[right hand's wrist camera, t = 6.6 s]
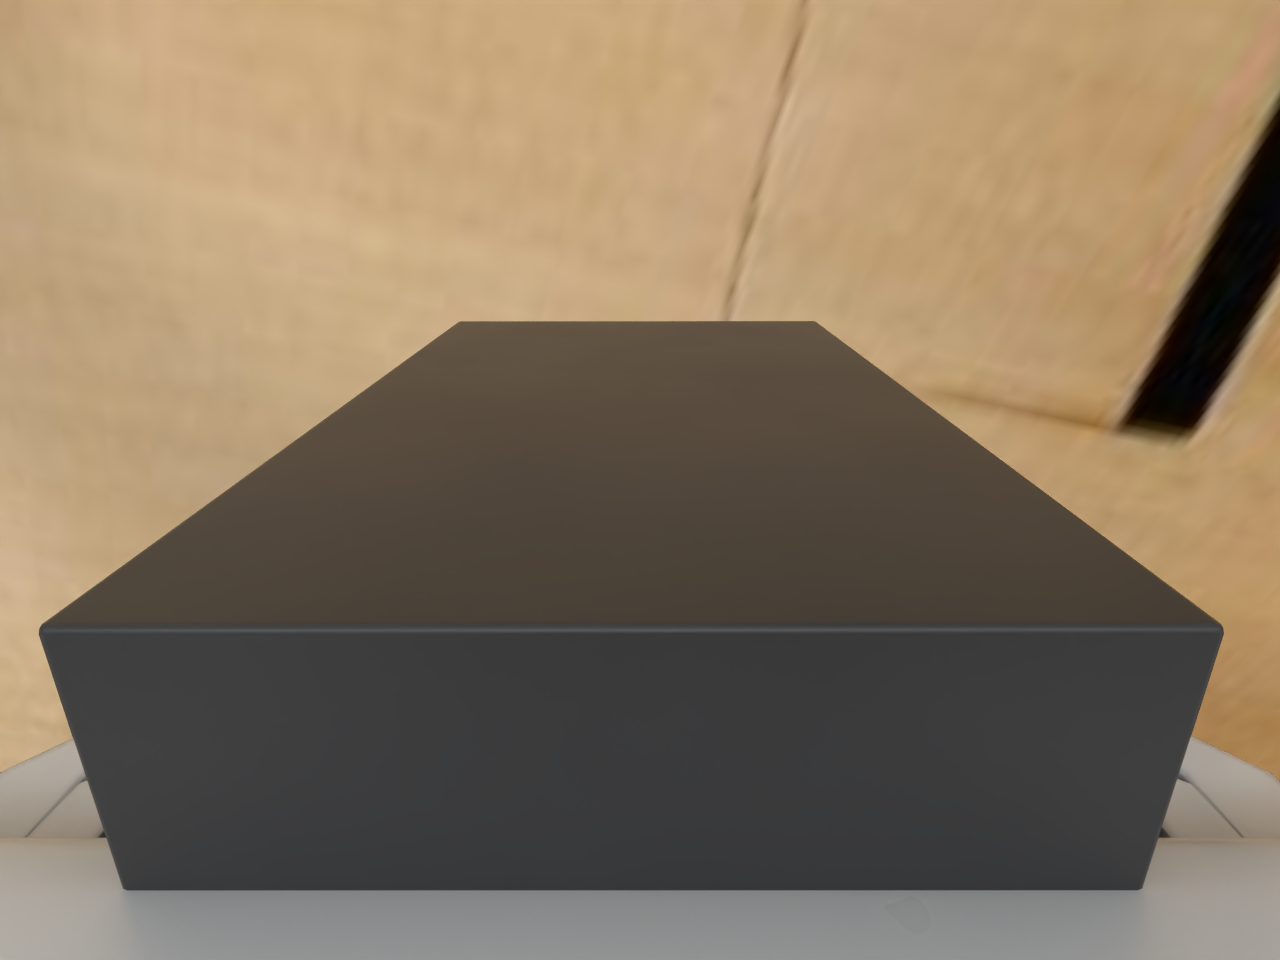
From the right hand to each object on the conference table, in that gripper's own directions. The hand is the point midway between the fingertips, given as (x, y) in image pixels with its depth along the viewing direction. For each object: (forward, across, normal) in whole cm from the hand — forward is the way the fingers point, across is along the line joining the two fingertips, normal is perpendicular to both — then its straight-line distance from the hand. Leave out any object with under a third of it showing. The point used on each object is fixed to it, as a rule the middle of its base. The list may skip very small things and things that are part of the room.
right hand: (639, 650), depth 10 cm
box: (+5, 0, -9) cm, 10 cm away
